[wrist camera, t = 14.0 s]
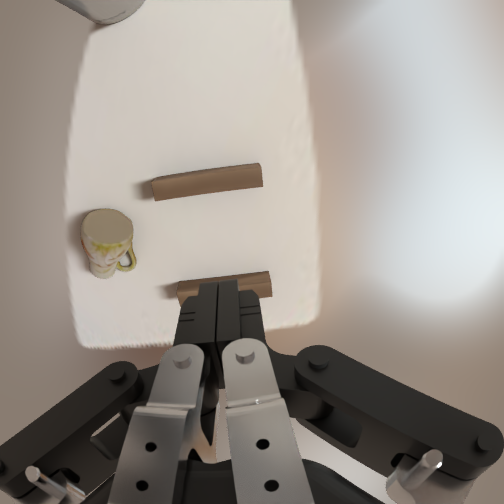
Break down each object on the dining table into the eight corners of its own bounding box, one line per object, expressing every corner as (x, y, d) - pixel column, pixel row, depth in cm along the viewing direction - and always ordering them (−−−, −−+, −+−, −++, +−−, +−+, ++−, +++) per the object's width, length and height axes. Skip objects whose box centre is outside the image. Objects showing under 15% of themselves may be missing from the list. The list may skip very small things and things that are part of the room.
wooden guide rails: (157, 177, 36) (151, 182, 33) (258, 162, 36) (261, 166, 33) (183, 294, 43) (180, 306, 41) (269, 285, 44) (272, 296, 41)
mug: (87, 265, 40) (53, 261, 31) (116, 209, 42) (89, 192, 32) (124, 290, 41) (96, 293, 31) (155, 233, 42) (134, 220, 32)
